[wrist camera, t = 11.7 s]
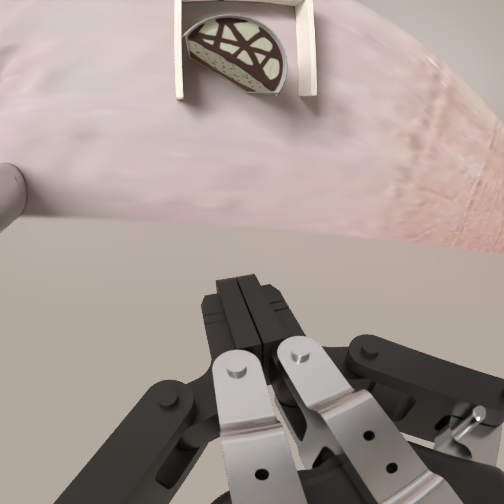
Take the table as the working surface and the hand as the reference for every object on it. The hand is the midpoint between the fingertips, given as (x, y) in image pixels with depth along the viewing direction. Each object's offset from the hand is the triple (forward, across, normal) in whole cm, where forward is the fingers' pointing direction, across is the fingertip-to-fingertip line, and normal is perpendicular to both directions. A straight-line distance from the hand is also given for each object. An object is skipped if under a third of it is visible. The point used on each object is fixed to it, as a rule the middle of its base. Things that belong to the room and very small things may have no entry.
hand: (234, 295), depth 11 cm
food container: (+29, -6, -14) cm, 33 cm away
